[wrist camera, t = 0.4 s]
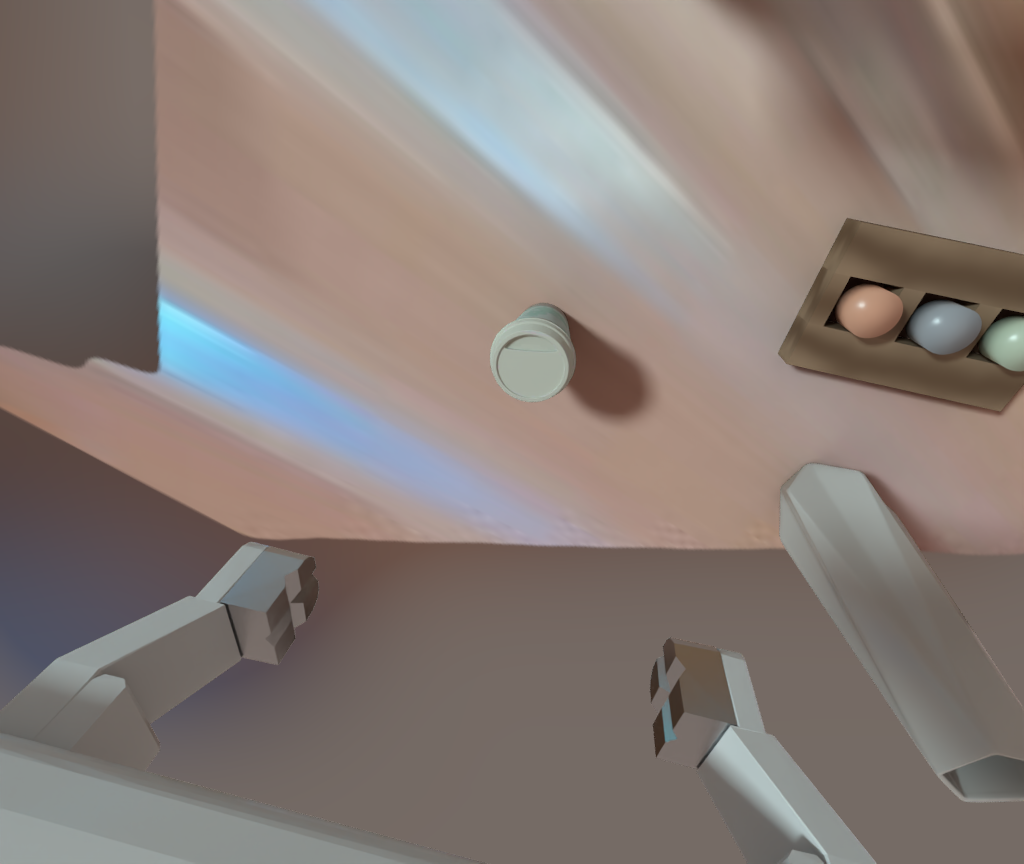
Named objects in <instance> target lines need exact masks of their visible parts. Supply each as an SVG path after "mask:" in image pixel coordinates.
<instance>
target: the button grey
mask: <svg viewBox="0 0 1024 864" xmlns="http://www.w3.org/2000/svg"><path fill="white" fill-rule="evenodd" d="M981 326H982V321H981V318H980V316H979V314H978V313H976V312H975V311H973V310H971V309H969V308H966V307H964V306H962V305H960V304H957V303H955V302H953V301H950V300H946V299H939V300H933V301H930V302H928V303H925V304H924V305H922V306H920V307H919V308H918V309H916V310H915V311H914V312H913V313H912V315H911V316H910V318H909V319H908V321H907V325H906V333H907V335H908V337H909V338H910V339H911V340H912V341H914V342H916V343H917V344H919V345H920V346H922V347H924V348H925V349H927V350H929V351H930V352H932V353H935V354H939V355H945V354H951V353H955V352H958V351H960V350H962V349H964V348H965V347H967V346H968V345H970V344H971V343H972V342H973V341H974V340H975V339H976V337H977V336H978V334H979V332H980V330H981Z"/></svg>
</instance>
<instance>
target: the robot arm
mask: <svg viewBox="0 0 1024 864" xmlns="http://www.w3.org/2000/svg"><path fill="white" fill-rule="evenodd" d="M315 568H316V564H315V558H314V557H310V556H306V555H302V554H298V553H294V552H290V551H286V550H283V549H279V548H274V547H271V546H267V545H262V544H258V543H254V542H249V543H247V544H245V545H243V546H242V547H241V548H240V549H239V550H238V551H237V553H235V555H234V556H233V557H232V558H231V559H230V560H229V561H228V562H227V563H226V564H225V566H224V567H223V568H222V569H221V570H220V571H219V572H218V573H217V574H216V575H215V576H214V577H213V579H212V580H211V581H210V582H209V583H208V584H207V585H206V586H205V587H204V588H203V589H202V591H201V592H200V593H199V594H198V595H197V596H196V597H191V596H188V597H186V598H184V599H182V600H180V601H178V602H175V603H174V604H171V605H169V606H167V607H165V608H163V609H161V610H159V611H156V612H154V613H152V614H150V615H148V616H146V617H144V618H142V619H140V620H137V621H135V622H133V623H131V624H129V625H127V626H125V627H123V628H121V629H119V630H116V631H114V632H112V633H110V634H108V635H106V636H104V637H102V638H99V639H98V640H95V641H93V642H91V643H89V644H87V645H85V646H83V647H80V648H78V649H76V650H74V651H72V652H70V653H68V654H66V655H64V656H62V657H60V658H57V659H56V660H55V661H54V662H53V663H51V664H50V665H49V666H48V667H47V668H46V669H45V670H44V671H43V672H42V673H41V674H40V675H39V676H38V677H37V678H35V679H34V680H33V681H32V682H31V683H30V684H29V685H28V686H27V687H26V688H25V689H24V690H22V691H21V692H20V693H19V694H18V695H17V696H16V697H15V698H14V699H13V700H12V701H10V702H9V703H8V704H7V705H6V706H5V707H4V708H3V709H2V710H1V711H0V864H487V863H484V862H480V861H476V860H472V859H469V858H465V857H462V856H458V855H454V854H450V853H447V852H443V851H439V850H435V849H432V848H428V847H424V846H421V845H416V844H413V843H409V842H406V841H402V840H398V839H395V838H391V837H387V836H384V835H380V834H376V833H373V832H368V831H365V830H362V829H358V828H354V827H350V826H346V825H343V824H339V823H335V822H331V821H328V820H324V819H321V818H317V817H313V816H309V815H306V814H302V813H298V812H295V811H291V810H287V809H284V808H280V807H276V806H272V805H269V804H265V803H261V802H258V801H254V800H250V799H247V798H243V797H239V796H235V795H232V794H228V793H224V792H220V791H217V790H213V789H210V788H206V787H202V786H198V785H195V784H191V783H187V782H183V781H180V780H176V779H172V778H169V777H165V776H161V775H158V774H154V773H150V772H146V771H145V770H146V769H147V767H148V766H149V765H150V763H151V762H152V760H153V759H154V758H155V756H156V755H157V754H158V752H159V751H160V742H159V740H158V738H157V736H156V735H155V733H154V731H153V729H152V727H151V726H150V724H151V723H152V722H154V721H155V720H156V719H158V718H159V717H161V716H162V715H163V714H165V713H166V712H168V711H169V710H171V709H172V708H173V707H175V706H176V705H178V704H179V703H181V702H182V701H183V700H185V699H186V698H188V697H189V696H191V695H192V694H193V693H195V692H196V691H198V690H199V689H200V688H202V687H203V686H205V685H206V684H207V683H209V682H210V681H212V680H213V679H215V678H216V677H217V676H219V675H220V674H222V673H223V672H225V671H226V670H227V669H229V668H230V667H232V666H233V665H234V664H236V663H237V662H239V661H240V660H241V657H243V658H248V659H252V660H257V661H261V662H266V663H271V664H275V665H278V664H279V663H280V662H281V660H282V658H283V657H284V655H285V654H286V652H287V651H288V649H289V647H290V646H291V644H292V643H293V641H294V640H295V630H294V628H295V627H297V626H299V625H300V624H302V623H304V622H305V621H307V619H308V617H309V616H310V614H311V612H312V611H313V608H314V606H315V603H316V600H317V598H318V591H319V585H318V580H317V579H316V578H315V577H314V576H313V574H312V573H313V571H314V570H315ZM663 652H664V656H662V657H660V658H658V659H656V662H655V664H654V666H653V669H652V675H651V680H650V695H651V704H652V705H653V707H654V708H655V710H656V711H657V713H658V716H657V718H656V720H655V721H654V723H653V731H654V743H655V754H656V758H657V759H661V760H665V761H668V762H672V763H675V764H679V765H683V766H686V767H690V768H693V769H697V774H698V775H699V777H700V779H701V781H702V783H703V784H704V786H705V788H706V790H707V792H708V794H709V795H710V797H711V799H712V801H713V802H714V804H715V806H716V808H717V810H718V812H719V814H720V815H721V817H722V819H723V821H724V823H725V824H726V826H727V828H728V830H729V832H730V833H731V835H732V837H733V839H734V841H735V843H736V844H737V846H738V848H739V850H740V852H741V853H742V855H743V857H744V859H745V861H746V862H747V864H877V863H876V862H875V861H874V859H873V858H872V857H871V856H870V854H869V853H868V852H867V851H866V850H865V848H864V847H863V846H862V845H861V843H860V842H859V841H858V840H857V838H856V837H855V836H854V835H853V833H852V832H851V831H850V830H849V828H848V827H847V826H846V825H845V824H844V822H843V821H842V820H841V818H840V817H839V816H838V815H837V814H836V812H835V811H834V810H833V809H832V808H831V806H830V805H829V804H828V802H827V801H826V800H825V799H824V797H823V796H822V795H821V794H820V792H819V791H818V790H817V789H816V788H815V786H814V785H813V784H812V783H811V781H810V780H809V779H808V778H807V776H806V775H805V774H804V773H803V771H802V770H801V769H800V768H799V767H798V765H797V764H796V763H795V761H794V760H793V759H792V758H791V756H790V755H789V754H788V753H787V751H786V750H785V749H784V748H783V747H782V745H781V744H780V743H779V742H778V740H777V739H776V738H775V737H774V735H770V734H767V733H766V732H765V728H764V725H763V721H762V718H761V714H760V710H759V707H758V704H757V700H756V696H755V693H754V689H753V686H752V683H751V679H750V675H749V672H748V668H747V665H746V661H745V658H744V657H743V656H742V654H741V653H738V652H733V651H729V650H724V649H720V648H715V647H714V646H709V645H704V644H699V643H695V642H690V641H685V640H680V639H676V638H671V637H670V638H668V639H667V640H666V642H665V643H664V645H663Z"/></svg>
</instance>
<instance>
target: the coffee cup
mask: <svg viewBox="0 0 1024 864" xmlns="http://www.w3.org/2000/svg"><path fill="white" fill-rule="evenodd" d="M490 365H491V369H492V372H493V375H494V377H495V379H496V381H497V383H498V384H499V386H500V387H501V388H502V389H503V390H504V391H505V392H506V393H507V394H508V395H510V396H512V397H513V398H516V399H518V400H521V401H525V402H539V401H544V400H547V399H549V398H551V397H553V396H555V395H556V394H558V393H559V392H561V391H562V390H563V389H564V388H565V387H566V386H567V384H568V383H569V381H570V380H571V378H572V376H573V374H574V371H575V366H576V354H575V349H574V346H573V344H572V342H571V339H570V332H569V326H568V321H567V318H566V316H565V315H564V313H563V312H562V311H561V310H560V309H559V308H557V307H556V306H554V305H551V304H547V303H539V304H535V305H533V306H531V307H529V308H528V309H527V310H526V311H525V312H524V313H522V314H521V315H520V316H519V317H518V318H517V319H516V320H515V321H513V322H511V323H509V324H508V325H506V326H505V327H504V328H503V329H502V330H501V331H500V332H499V333H498V334H497V336H496V337H495V339H494V341H493V344H492V347H491V352H490Z"/></svg>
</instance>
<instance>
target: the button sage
mask: <svg viewBox="0 0 1024 864" xmlns="http://www.w3.org/2000/svg"><path fill="white" fill-rule="evenodd" d="M978 347H979V351H980V353H981V354H982V355H983V356H985V357H987V358H988V359H990V360H992V361H994V362H996V363H998V364H999V365H1001V366H1003V367H1005V368H1007V369H1009V370H1012V371H1024V316H1021V315H1015V316H1009V317H1005V318H1003V319H1000V320H998V321H996V322H995V323H993V324H992V325H990V326H989V327H988V329H987V330H986V331H985V333H984V334H983V335H982V337H981V338H980V340H979V344H978Z"/></svg>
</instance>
